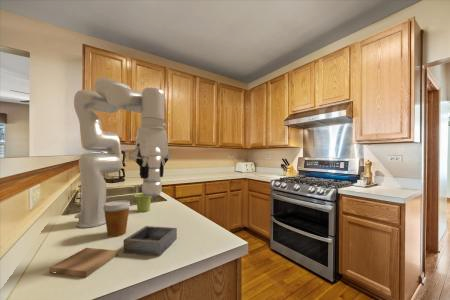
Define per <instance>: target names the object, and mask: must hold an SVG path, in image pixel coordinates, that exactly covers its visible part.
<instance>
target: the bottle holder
mask: <svg viewBox="0 0 450 300" xmlns="http://www.w3.org/2000/svg"><path fill="white" fill-rule="evenodd" d="M177 228H178V227H169V226H168V227H166V226H153V225H145V226H144V227H142V228H140V229H139V230H137V231H136V232H134V233H132V234H131V235H129V236H127V237H126V238H124V239H123V254H133V255H141V256H142V255H144V256H145V255H146V256H155V257H156V256H157V257H161V256H162V255H163V254H164V253H165V252H166V251H167V249H168V248H170V247H171V246H172V245H173V243H174V242H175V241H176V240H177V239H178V236H177V235H178V231H177ZM152 239H153V240H152Z"/></svg>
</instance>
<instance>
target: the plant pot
mask: <svg viewBox="0 0 450 300" xmlns="http://www.w3.org/2000/svg"><path fill="white" fill-rule="evenodd" d="M152 198H153V196H145V195H143V193H138V194H134V199H135V201H136V207H137V212H139V213H144V212H149V211H150V210H151V202H152Z"/></svg>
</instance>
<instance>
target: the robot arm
mask: <svg viewBox="0 0 450 300" xmlns="http://www.w3.org/2000/svg"><path fill="white" fill-rule="evenodd" d="M93 88H94V91H93V90H90V89H80V90H78V91H76V92H75V94H74V96H73V97H74V98H73V107H74V111H75V115H76V116H77V119H78V122H79V123H78V124H79V133H80V143H81V144H80V145H81V146H82V148H83V149H84V150H86V151H90V152H89V153H84V154H83V155H81V156H80V158H79V159H78V168H79V173H80V212H78V213H77V214H75V215H74V219H78V220H77V222H76V223H75V225H76V226H75V227H76V228H95V227H98V226H99V227H100V226H102V225H106V219H105V211H104V209H103V207H104V204H105V203H107V181H106V179H105V178H104V177H103V176H102V174H103V175H104V174H112V173H113V174H114V173H117V172H118V173H119V171H121V170H122V168H123V154H122V145H121V140H120V137H119V136H118V133H115V132H113V131H104V130H103V128H102V127H103V126H102V120H101V119H100V118H99V116H98V115H97V114H96V113H95V112H96V111H97V112H103V113H107V114H108V113H109V114H115V113H117V112H119V110H123V111H129V112H134V113H137V114H140V123H141V124H140V127H138V129H137V133H136V138H135V146H134V150H133V151H132V152H131V154H130V155H129V157H130V158H131V160H133V161H134V162H135V163H136V164H137V165H138V167H139V177H140V179H142V180H143V179H146V178H147V166H146V163H147V158H148V157H149V154H150V152H151V150H152V149H154V148H159V149H160V150H161V152H162V156H161V157H162V158H161V165H160V178H163V177H164V173H165V172H164V170H165V169H164V166H165V165H166V163H167V162H168V160H170V159H171V158H172V154H171V152H170V151H169V150H168V137H167V130H166V129H165V128H167V127H168V124H167V123H165V100H166V99H165V97H166V96H165V92H164V91H163V90H162V89H160V88H158V87H145V88H143V89H142V91H140V90H135V89H133V88H131V87H130V86H129V84H126V83H123V82H121V81H117V80H114V79H112V78H108V77H100V78H97V80H95V82H94V85H93ZM94 111H95V112H94ZM92 151H93V152H92ZM105 152H106V153H105Z"/></svg>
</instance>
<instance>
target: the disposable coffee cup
mask: <svg viewBox="0 0 450 300" xmlns="http://www.w3.org/2000/svg"><path fill="white" fill-rule="evenodd" d="M130 208H131V204H130V201H129V200H125V199H124V200H112V201H108V202H106V203H105V204H104V207H103V209H104V211H105V219H106V223H105V225H106V232H107V237H111V238H115V237H120V236H123V235H125V234H126V233H127V227H128V226H127V225H128V220H129V219H128V218H129V212H130Z"/></svg>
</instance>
